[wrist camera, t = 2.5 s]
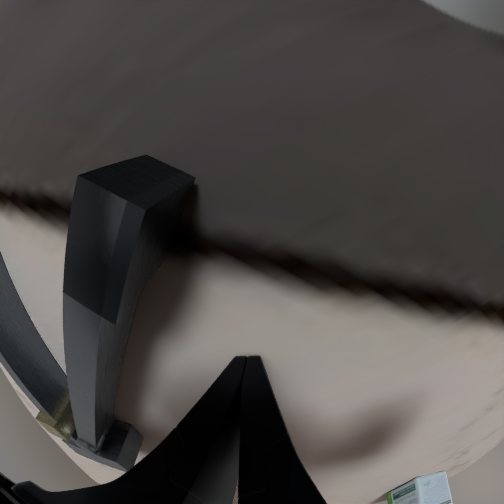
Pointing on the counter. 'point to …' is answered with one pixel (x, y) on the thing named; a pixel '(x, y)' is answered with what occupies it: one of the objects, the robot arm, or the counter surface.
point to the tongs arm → (112, 276)
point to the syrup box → (423, 491)
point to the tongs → (52, 382)
